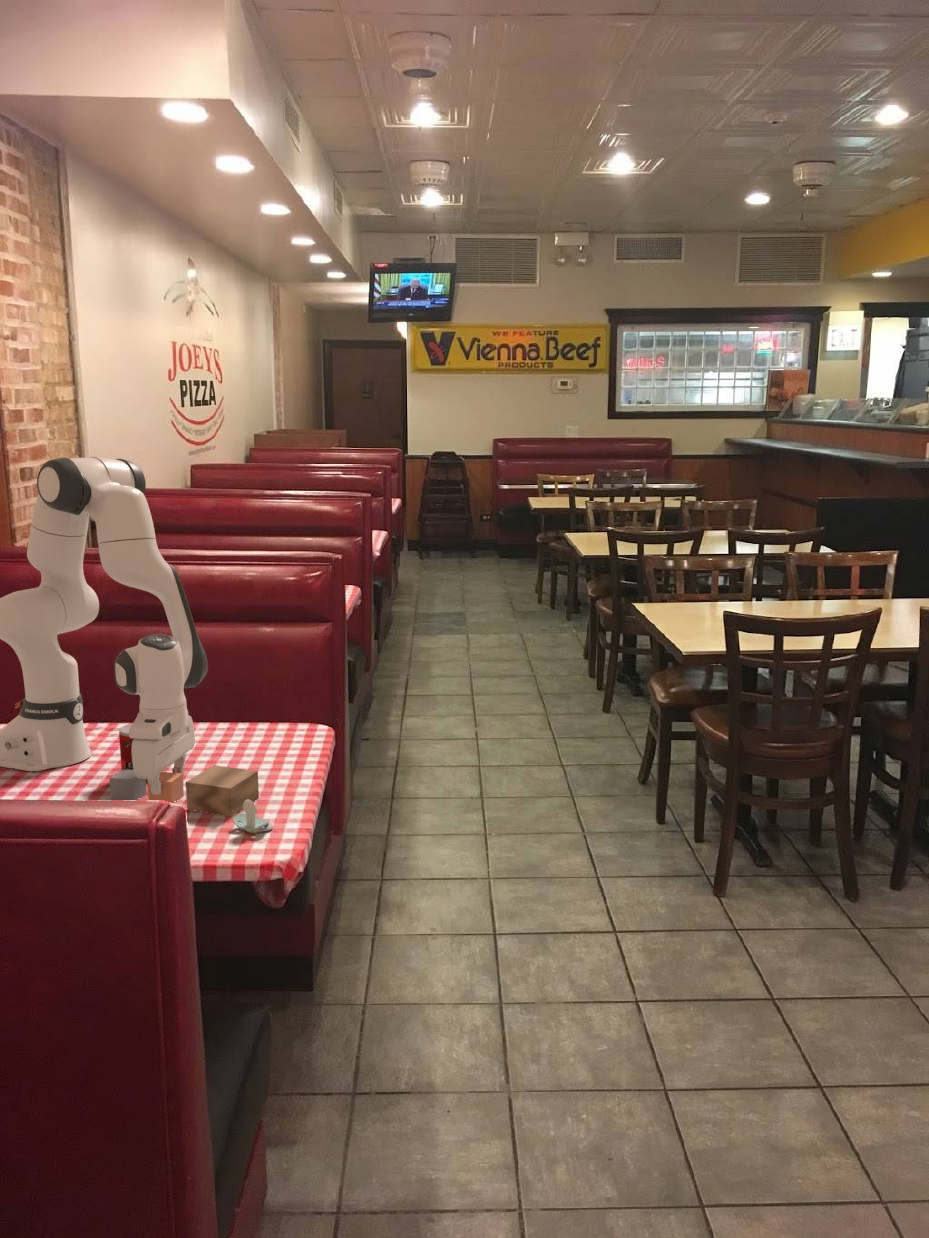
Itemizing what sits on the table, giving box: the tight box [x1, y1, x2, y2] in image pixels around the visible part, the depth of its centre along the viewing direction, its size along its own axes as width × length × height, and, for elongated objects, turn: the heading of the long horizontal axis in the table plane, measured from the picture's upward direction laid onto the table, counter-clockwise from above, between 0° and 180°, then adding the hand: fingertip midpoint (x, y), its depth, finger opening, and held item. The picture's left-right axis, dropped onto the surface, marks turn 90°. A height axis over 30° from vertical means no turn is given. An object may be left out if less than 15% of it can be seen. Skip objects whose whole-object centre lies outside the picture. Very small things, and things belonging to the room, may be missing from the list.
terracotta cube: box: [147, 771, 185, 804], centre depth 189 cm, size 5×5×5 cm
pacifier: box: [233, 799, 274, 834], centre depth 176 cm, size 7×6×6 cm
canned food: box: [118, 722, 148, 783], centre depth 201 cm, size 8×8×11 cm
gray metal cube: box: [109, 769, 148, 801], centre depth 190 cm, size 5×5×5 cm
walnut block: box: [185, 764, 260, 818], centre depth 188 cm, size 10×10×6 cm
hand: (168, 784), depth 189 cm, fingers open, 8 cm apart
